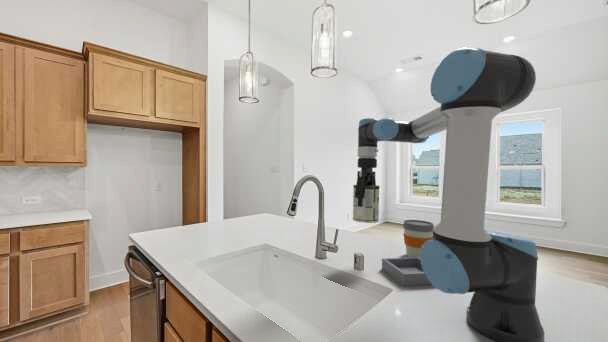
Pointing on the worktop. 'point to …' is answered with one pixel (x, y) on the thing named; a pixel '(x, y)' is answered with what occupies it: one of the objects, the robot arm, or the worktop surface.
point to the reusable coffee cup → (416, 235)
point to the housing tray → (406, 271)
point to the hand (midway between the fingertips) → (365, 213)
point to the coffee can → (368, 205)
